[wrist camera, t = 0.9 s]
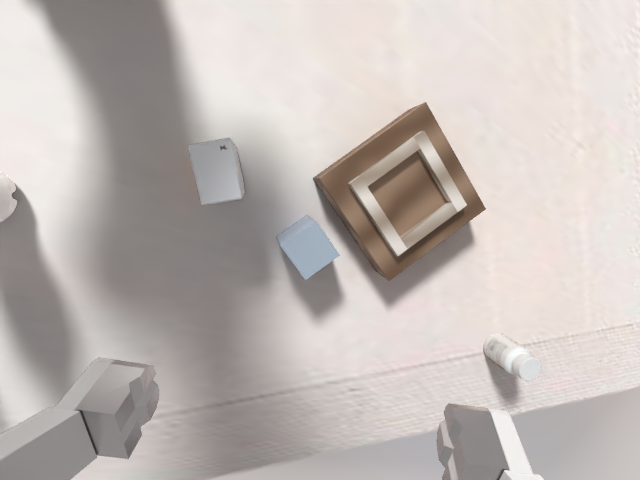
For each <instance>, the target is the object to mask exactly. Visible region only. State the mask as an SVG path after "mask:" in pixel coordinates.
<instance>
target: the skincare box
mask: <svg viewBox="0 0 640 480" xmlns="http://www.w3.org/2000/svg"><path fill="white" fill-rule="evenodd" d="M188 150H189V155H190V160H191V164H192V169H193V172H194V176H195V180H196V184H197V189H198V193H199V197H200V201H201V205H210V204H217V203H223V202H229V201H235V200H241V199H242V198H243V196H244V194H245V188H244V182H243V177H242V172H241V167H240V162H239V157H238V152H237V147H236V146H235V144H234V143H233V141H232V140H231V138H226V139H220V140H214V141H208V142H202V143H196V144H190V145H188Z"/></svg>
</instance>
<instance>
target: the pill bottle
mask: <svg viewBox="0 0 640 480" xmlns="http://www.w3.org/2000/svg"><path fill="white" fill-rule="evenodd" d="M484 353H485V355H486V356H487V357H488V358H489V359H491V360H492V361H493V362H495V363H496V364H497V365H499V366H500V367H501V368H502V369H504V370H505V371H506V372H508V373H510V374H512V375H517V376H518V377H520V378H521V379H523V380H525V381H532V380H534V379H536V378H537V377H538V376H539V374H540V372H541V363H540V362H539V361H538V360H537V359H536V358H535V357H533V356H532V355H531V354H530V352H529V351H528V350H527V349H526V348H525V347H523V346H522V345H520V344H518V343H517V342H515V341H513V340H512V339H510V338H509V337H507V336H505V335H504V334H501V333H495V334H492V335H491V336H489V337H488V338H487V339H486V341H485V343H484Z"/></svg>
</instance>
